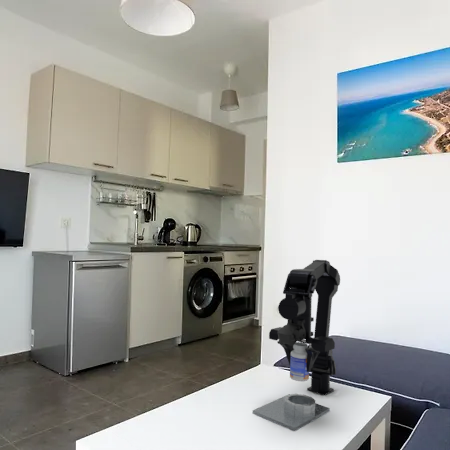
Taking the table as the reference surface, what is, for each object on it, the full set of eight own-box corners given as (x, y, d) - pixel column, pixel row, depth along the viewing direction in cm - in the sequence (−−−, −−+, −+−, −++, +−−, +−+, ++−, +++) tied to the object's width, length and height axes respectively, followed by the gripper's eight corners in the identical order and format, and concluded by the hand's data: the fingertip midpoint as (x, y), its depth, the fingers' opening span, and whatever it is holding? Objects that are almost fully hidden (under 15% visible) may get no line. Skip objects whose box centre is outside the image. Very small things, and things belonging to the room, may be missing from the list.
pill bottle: (308, 383, 109) (310, 347, 109) (289, 380, 110) (290, 345, 110) (308, 376, 114) (310, 342, 115) (289, 373, 116) (291, 340, 116)
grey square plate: (289, 396, 124) (289, 384, 124) (329, 411, 114) (329, 397, 114) (252, 413, 111) (252, 399, 111) (294, 431, 101) (294, 416, 101)
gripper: (257, 312, 114) (256, 367, 113) (314, 323, 101) (313, 385, 100) (280, 308, 122) (279, 359, 121) (336, 317, 109) (335, 375, 108)
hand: (299, 369), depth 112 cm, fingers closed on pill bottle, 5 cm apart
